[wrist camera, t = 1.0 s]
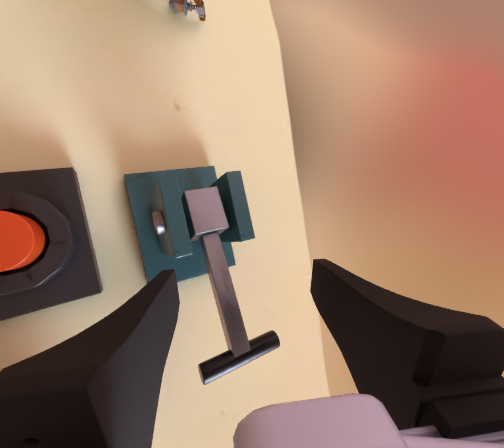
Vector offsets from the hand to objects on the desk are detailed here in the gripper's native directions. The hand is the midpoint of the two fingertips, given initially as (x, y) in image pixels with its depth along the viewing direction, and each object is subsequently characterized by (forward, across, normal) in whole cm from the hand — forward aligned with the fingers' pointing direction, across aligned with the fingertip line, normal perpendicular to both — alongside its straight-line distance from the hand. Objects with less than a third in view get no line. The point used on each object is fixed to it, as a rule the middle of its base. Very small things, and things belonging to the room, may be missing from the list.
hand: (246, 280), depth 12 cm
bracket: (+12, +5, +1) cm, 13 cm away
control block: (+8, +16, 0) cm, 17 cm away
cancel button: (+6, +15, -1) cm, 16 cm away
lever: (+4, +2, +2) cm, 4 cm away
